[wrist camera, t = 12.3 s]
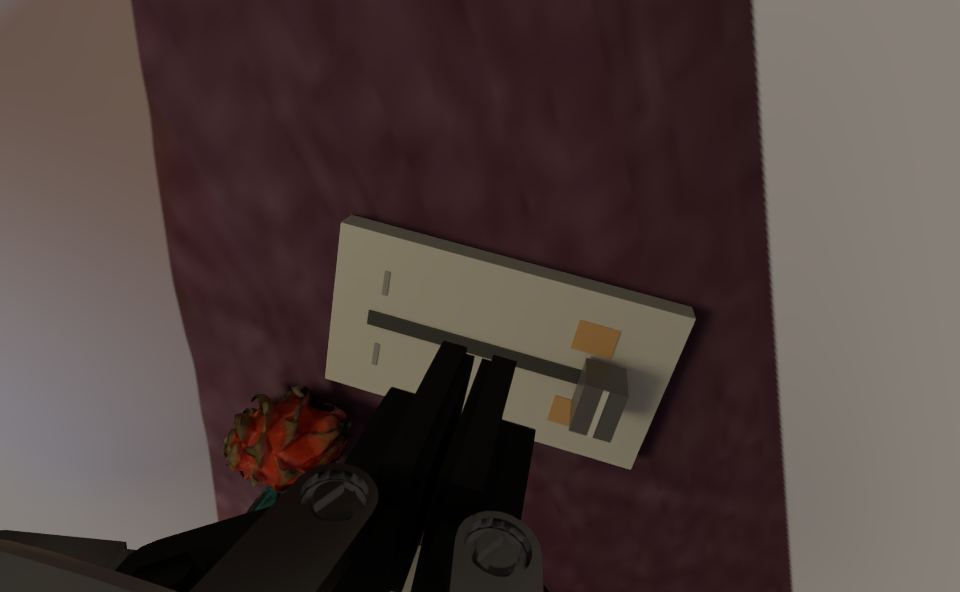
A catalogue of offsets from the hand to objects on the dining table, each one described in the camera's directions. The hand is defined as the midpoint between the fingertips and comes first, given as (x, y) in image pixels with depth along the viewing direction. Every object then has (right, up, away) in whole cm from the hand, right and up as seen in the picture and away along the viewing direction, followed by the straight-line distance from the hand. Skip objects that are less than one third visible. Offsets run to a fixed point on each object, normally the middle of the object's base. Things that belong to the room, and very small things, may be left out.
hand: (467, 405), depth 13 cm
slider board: (+2, -1, +33) cm, 33 cm away
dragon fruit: (-15, -8, +40) cm, 44 cm away
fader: (+9, -4, +30) cm, 31 cm away
